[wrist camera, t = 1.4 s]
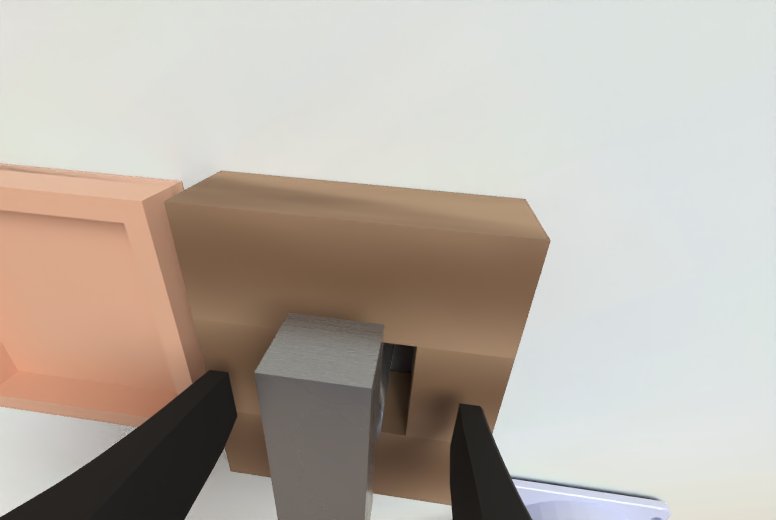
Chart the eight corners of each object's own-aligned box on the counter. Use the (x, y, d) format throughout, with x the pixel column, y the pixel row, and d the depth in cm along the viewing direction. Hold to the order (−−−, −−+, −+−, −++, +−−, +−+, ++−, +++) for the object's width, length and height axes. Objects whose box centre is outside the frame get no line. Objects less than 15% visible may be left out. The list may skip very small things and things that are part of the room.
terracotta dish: (229, 400, 18) (207, 437, 16) (22, 371, 19) (-20, 403, 17) (181, 181, 13) (141, 201, 11) (-105, 153, 14) (-184, 168, 12)
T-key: (389, 400, 17) (365, 575, 11) (333, 393, 17) (281, 560, 11) (403, 243, 13) (376, 388, 7) (330, 235, 13) (249, 371, 8)
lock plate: (464, 440, 18) (469, 508, 15) (260, 411, 18) (230, 471, 16) (525, 199, 12) (550, 240, 9) (221, 170, 12) (163, 201, 10)
